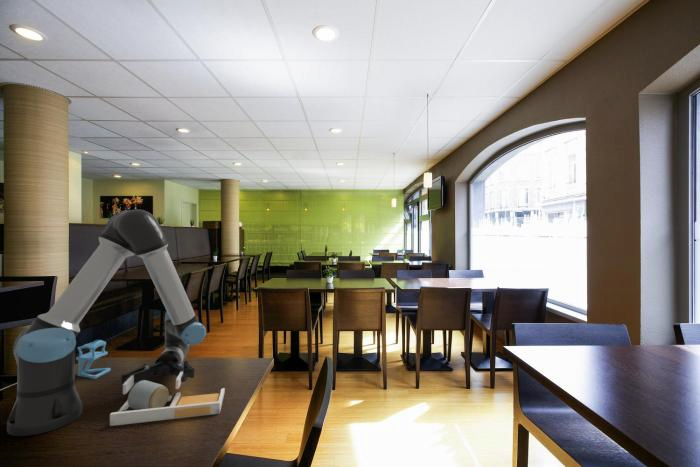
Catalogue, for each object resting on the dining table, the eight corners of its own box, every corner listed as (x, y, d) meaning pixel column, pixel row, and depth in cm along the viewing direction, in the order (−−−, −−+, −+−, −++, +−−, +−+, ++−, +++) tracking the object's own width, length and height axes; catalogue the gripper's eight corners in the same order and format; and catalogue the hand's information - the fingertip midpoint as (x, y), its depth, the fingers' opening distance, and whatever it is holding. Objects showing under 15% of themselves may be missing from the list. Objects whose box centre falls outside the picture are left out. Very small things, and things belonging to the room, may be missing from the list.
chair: (89, 370, 128) (89, 337, 128) (111, 370, 128) (111, 337, 128) (71, 378, 120) (71, 344, 120) (94, 379, 120) (95, 344, 120)
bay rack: (109, 426, 90) (109, 415, 90) (129, 401, 104) (129, 391, 104) (219, 414, 97) (219, 403, 97) (224, 391, 111) (224, 382, 111)
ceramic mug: (149, 418, 94) (150, 389, 95) (126, 413, 97) (127, 385, 97) (179, 401, 104) (179, 375, 105) (157, 397, 107) (158, 372, 107)
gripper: (208, 368, 123) (197, 395, 102) (128, 375, 117) (101, 405, 96) (208, 347, 123) (198, 369, 103) (129, 353, 117) (101, 377, 96)
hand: (151, 386), depth 99 cm, fingers open, 13 cm apart
